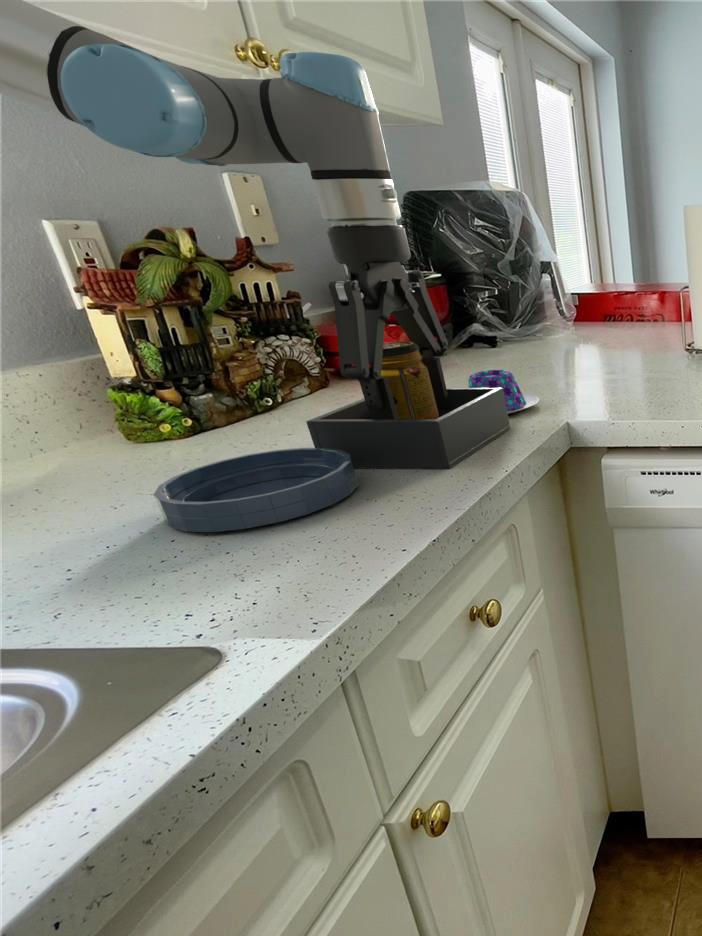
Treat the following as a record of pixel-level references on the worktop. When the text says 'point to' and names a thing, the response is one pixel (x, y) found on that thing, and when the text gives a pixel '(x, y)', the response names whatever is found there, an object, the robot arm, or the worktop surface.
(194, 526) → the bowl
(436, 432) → the bin
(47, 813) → the worktop surface
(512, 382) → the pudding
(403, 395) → the condiment
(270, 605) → the worktop surface
